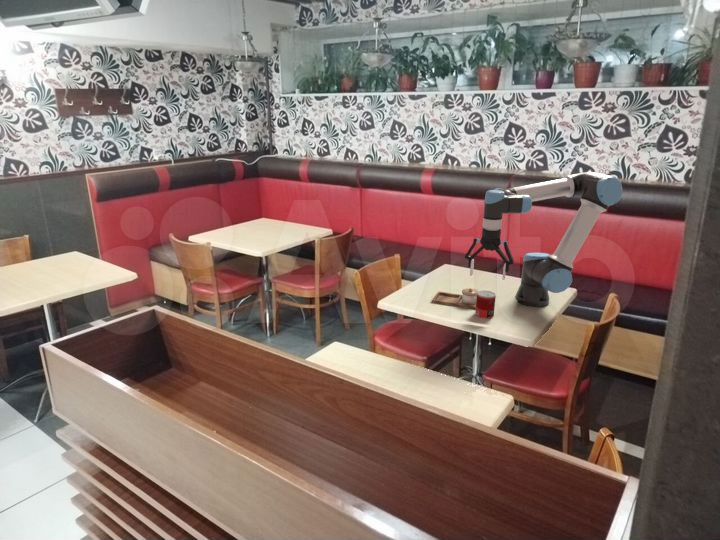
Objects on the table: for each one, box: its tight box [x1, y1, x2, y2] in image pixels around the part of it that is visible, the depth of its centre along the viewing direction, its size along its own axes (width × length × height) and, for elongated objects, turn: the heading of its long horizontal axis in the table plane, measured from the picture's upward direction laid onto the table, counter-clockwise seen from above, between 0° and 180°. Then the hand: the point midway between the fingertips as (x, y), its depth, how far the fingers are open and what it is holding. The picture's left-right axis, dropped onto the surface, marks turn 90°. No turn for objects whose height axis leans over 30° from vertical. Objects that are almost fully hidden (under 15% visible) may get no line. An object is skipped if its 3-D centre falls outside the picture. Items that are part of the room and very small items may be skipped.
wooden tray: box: [431, 291, 476, 310], centre depth 248 cm, size 22×12×2 cm, turn 67°
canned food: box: [475, 290, 497, 319], centre depth 232 cm, size 8×8×11 cm
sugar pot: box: [461, 287, 479, 306], centre depth 244 cm, size 8×8×7 cm
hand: (487, 276), depth 228 cm, fingers open, 13 cm apart
